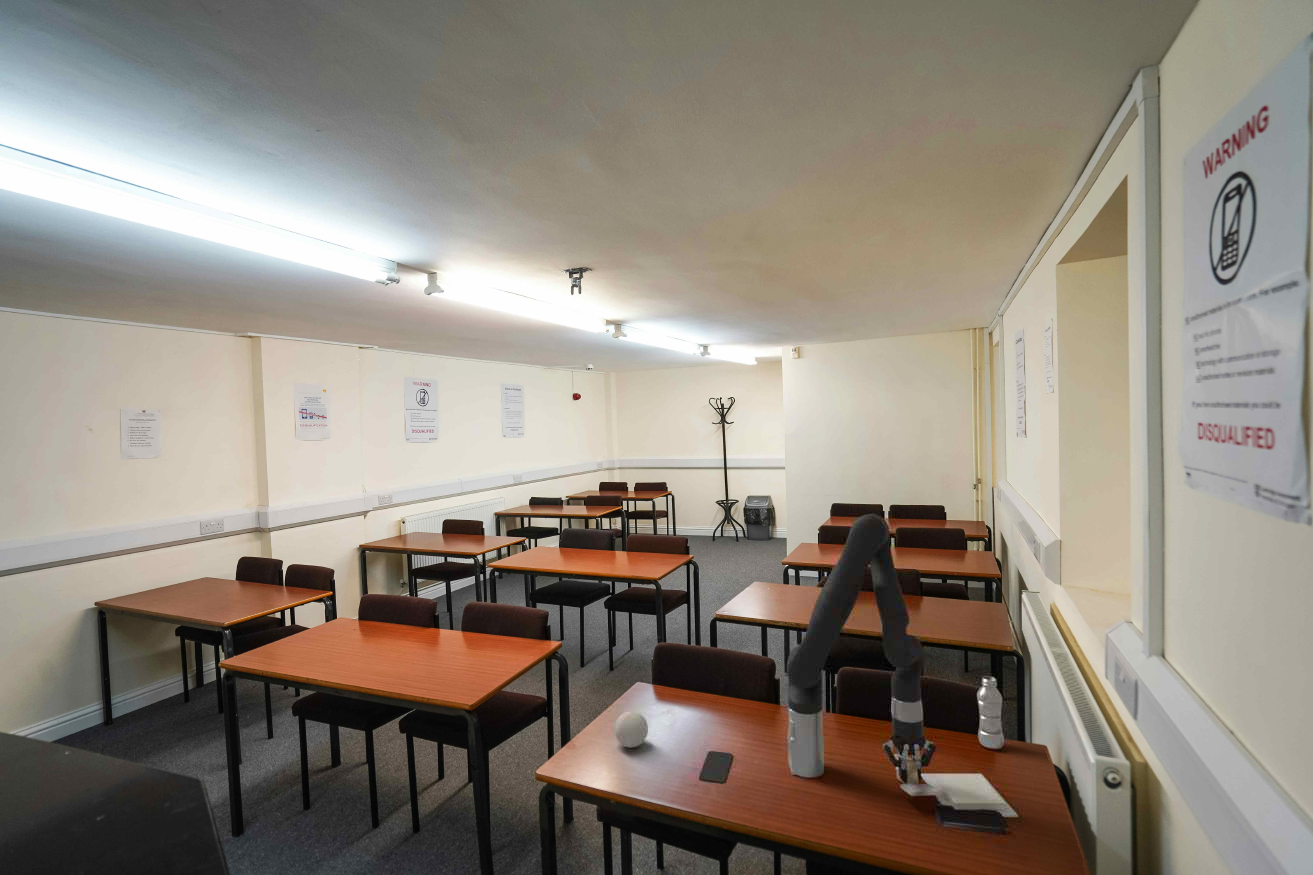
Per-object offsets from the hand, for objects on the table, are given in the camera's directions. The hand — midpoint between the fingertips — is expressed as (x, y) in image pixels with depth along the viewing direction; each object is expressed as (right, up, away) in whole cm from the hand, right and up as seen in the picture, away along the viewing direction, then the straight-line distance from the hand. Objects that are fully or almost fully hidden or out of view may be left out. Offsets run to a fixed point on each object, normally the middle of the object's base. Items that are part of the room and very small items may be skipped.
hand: (910, 781), depth 156 cm
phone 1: (-49, -4, +14) cm, 51 cm away
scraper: (0, 0, -3) cm, 3 cm away
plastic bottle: (+32, -2, +21) cm, 39 cm away
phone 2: (+9, -3, -12) cm, 15 cm away
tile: (+14, -1, +3) cm, 14 cm away
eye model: (-73, -5, +27) cm, 78 cm away
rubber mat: (+13, -2, -2) cm, 14 cm away
